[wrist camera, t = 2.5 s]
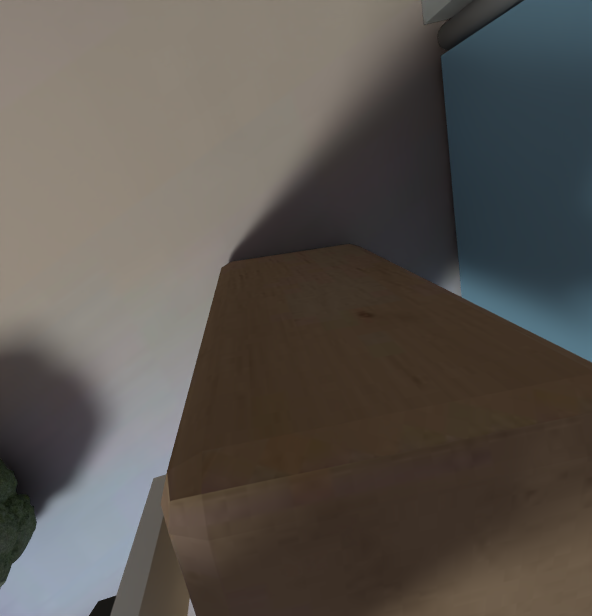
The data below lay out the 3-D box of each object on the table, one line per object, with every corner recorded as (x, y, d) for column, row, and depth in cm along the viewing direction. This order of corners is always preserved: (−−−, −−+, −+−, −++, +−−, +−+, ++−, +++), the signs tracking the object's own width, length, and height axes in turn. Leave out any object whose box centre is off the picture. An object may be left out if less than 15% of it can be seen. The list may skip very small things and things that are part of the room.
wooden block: (359, 239, 25) (698, 389, 6) (367, 364, 29) (606, 703, 10) (217, 261, 24) (130, 508, 6) (242, 387, 28) (242, 810, 9)
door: (436, 25, 21) (655, -159, 10) (488, 12, 21) (761, -183, 10) (469, 396, 30) (603, 519, 19) (505, 385, 30) (659, 501, 19)
